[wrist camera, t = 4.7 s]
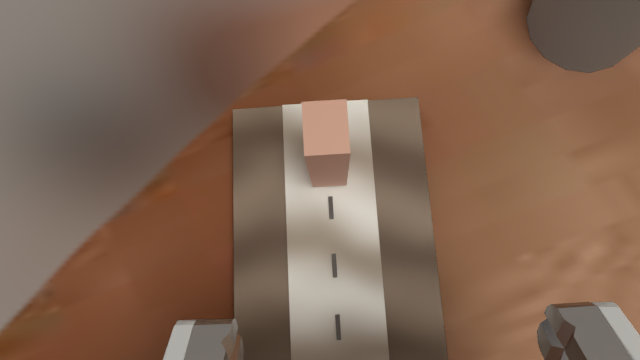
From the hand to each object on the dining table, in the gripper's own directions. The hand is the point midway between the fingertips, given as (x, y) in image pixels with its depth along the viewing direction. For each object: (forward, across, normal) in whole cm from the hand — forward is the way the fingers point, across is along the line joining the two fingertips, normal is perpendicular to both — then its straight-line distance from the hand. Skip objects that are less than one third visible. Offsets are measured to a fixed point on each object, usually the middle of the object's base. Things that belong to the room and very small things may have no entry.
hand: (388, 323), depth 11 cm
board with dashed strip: (+15, -2, -12) cm, 19 cm away
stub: (+18, -2, -7) cm, 19 cm away
